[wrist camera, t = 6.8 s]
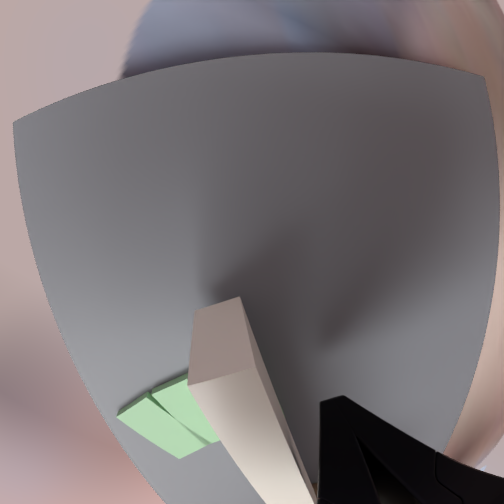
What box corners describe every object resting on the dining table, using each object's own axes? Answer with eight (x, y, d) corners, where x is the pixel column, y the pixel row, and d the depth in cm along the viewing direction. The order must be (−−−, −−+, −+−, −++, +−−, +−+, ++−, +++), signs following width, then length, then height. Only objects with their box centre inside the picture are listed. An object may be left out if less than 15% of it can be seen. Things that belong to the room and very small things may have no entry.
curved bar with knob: (348, 501, 12) (370, 550, 8) (276, 523, 12) (289, 575, 8) (296, 270, 8) (362, 351, 4) (142, 320, 8) (101, 423, 4)
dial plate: (425, 454, 15) (437, 470, 13) (193, 515, 13) (194, 537, 12) (460, 82, 9) (489, 75, 7) (37, 126, 7) (7, 121, 6)
